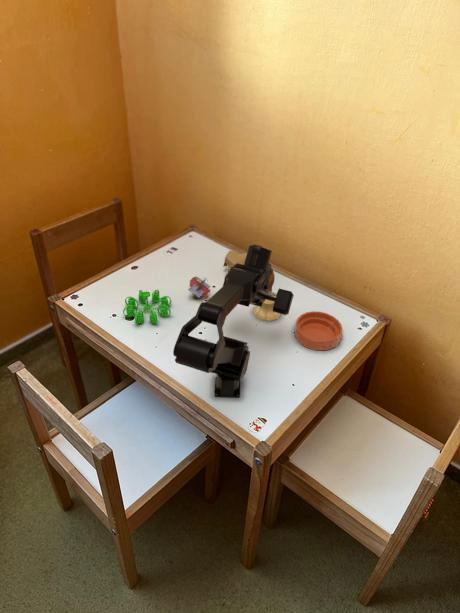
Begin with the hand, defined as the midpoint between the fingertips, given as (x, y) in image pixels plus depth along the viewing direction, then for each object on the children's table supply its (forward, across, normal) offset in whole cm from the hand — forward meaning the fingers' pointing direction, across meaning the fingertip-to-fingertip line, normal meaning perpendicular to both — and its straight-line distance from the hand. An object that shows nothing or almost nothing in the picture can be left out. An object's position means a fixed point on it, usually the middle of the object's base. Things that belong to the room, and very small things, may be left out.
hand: (262, 300), depth 132 cm
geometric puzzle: (+12, +22, +3) cm, 26 cm away
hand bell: (+13, 0, +2) cm, 13 cm away
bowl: (+10, -17, +5) cm, 20 cm away
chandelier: (+3, +34, +12) cm, 36 cm away
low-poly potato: (+24, +14, -9) cm, 29 cm away
